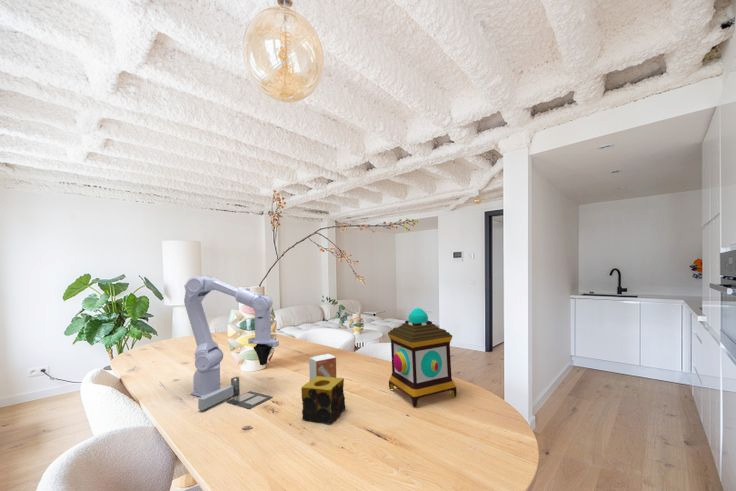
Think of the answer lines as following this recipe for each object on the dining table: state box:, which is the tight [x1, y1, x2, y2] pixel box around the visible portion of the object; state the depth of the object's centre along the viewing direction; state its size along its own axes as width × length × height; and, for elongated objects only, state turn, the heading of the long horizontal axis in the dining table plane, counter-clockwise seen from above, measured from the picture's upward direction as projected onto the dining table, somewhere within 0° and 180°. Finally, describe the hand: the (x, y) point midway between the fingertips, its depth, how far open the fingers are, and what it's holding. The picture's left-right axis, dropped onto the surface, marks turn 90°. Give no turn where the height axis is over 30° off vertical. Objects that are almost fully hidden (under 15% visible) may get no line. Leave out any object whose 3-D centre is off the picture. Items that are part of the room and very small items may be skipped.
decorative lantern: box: [387, 307, 458, 408], centre depth 109 cm, size 20×20×30 cm
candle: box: [301, 376, 346, 425], centre depth 95 cm, size 10×10×10 cm
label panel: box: [225, 390, 274, 410], centre depth 108 cm, size 12×10×1 cm
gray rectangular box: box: [197, 384, 234, 411], centre depth 105 cm, size 12×2×3 cm, turn 155°
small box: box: [308, 353, 337, 381], centre depth 111 cm, size 8×6×13 cm
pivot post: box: [230, 376, 241, 398], centre depth 113 cm, size 3×3×6 cm
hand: (263, 364), depth 116 cm, fingers closed
